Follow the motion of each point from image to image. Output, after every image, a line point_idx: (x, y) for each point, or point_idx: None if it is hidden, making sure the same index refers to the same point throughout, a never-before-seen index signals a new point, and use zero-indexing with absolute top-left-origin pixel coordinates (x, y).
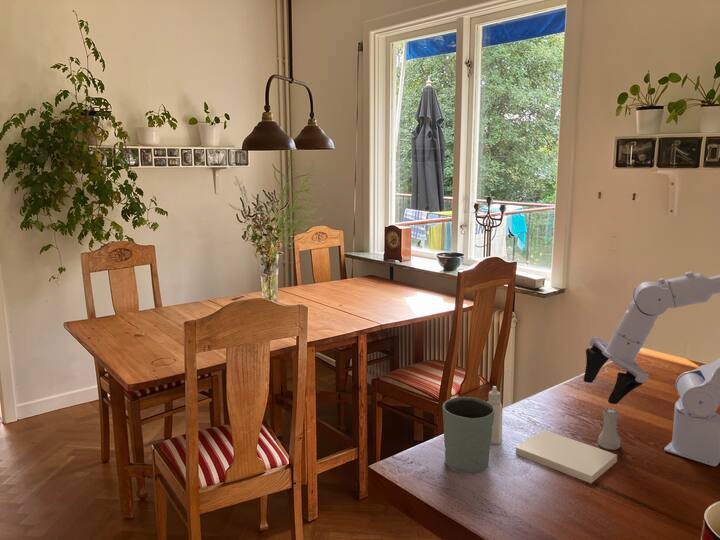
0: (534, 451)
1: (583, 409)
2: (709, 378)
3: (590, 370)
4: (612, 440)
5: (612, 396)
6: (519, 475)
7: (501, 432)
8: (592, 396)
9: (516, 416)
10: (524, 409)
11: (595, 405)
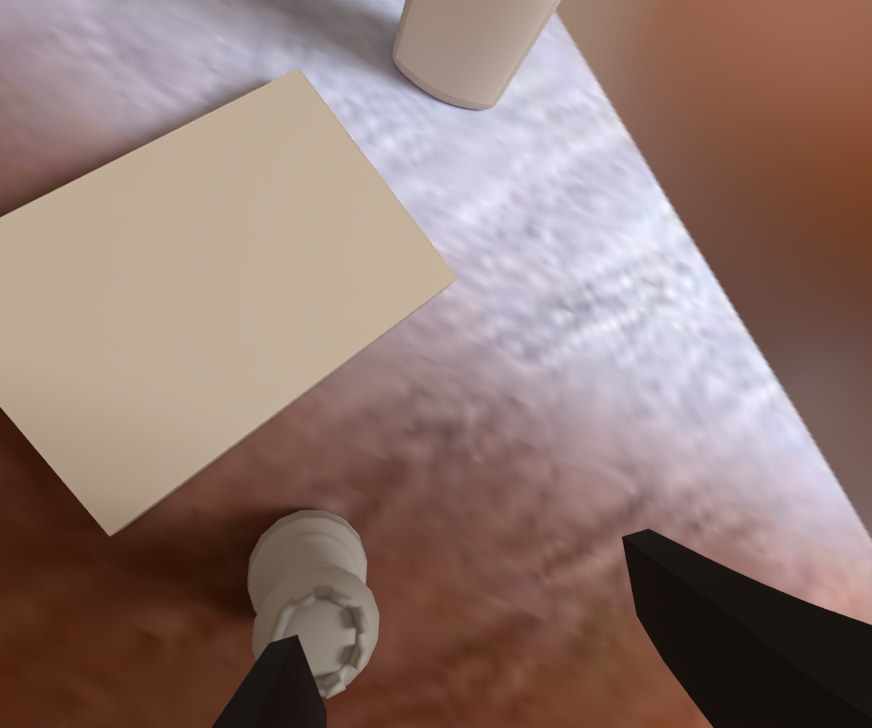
0: (240, 127)
1: None
2: None
3: (716, 631)
4: (259, 576)
5: (240, 699)
6: (98, 10)
7: (426, 52)
8: None
9: (633, 258)
10: (693, 322)
11: None
